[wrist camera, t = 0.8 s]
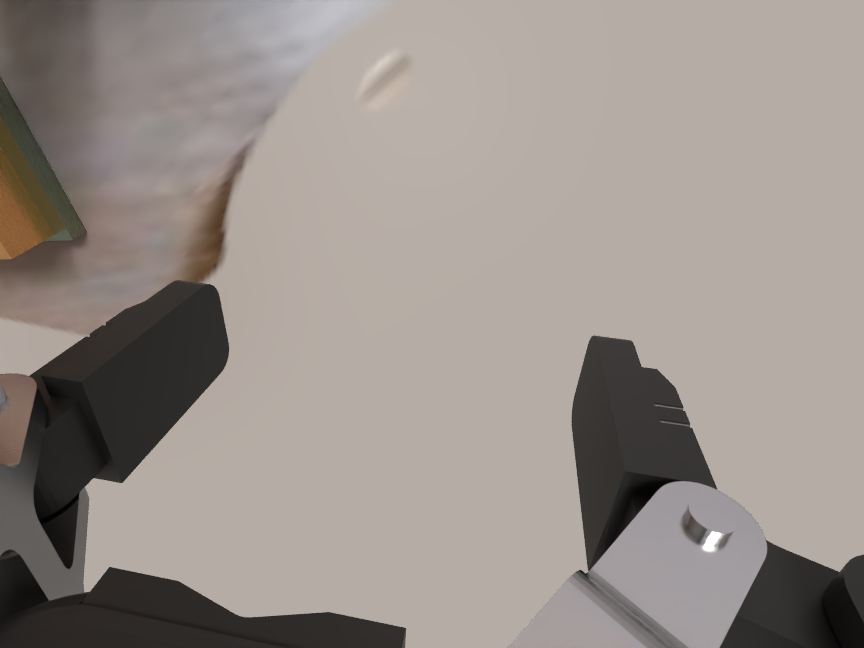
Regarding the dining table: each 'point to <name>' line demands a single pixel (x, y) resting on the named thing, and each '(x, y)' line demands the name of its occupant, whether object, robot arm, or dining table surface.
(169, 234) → the dining table surface
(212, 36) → the dining table surface
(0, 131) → the chute mount
